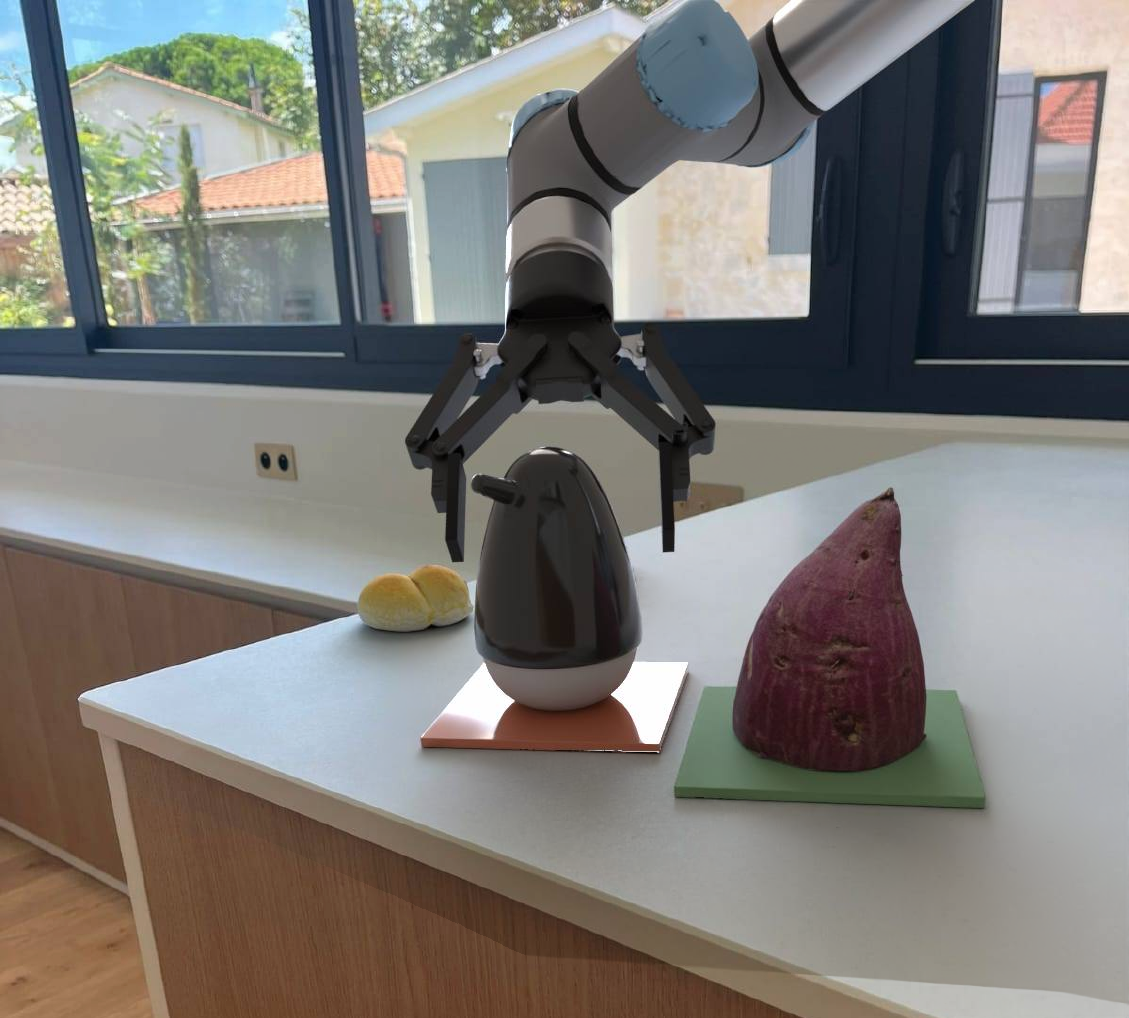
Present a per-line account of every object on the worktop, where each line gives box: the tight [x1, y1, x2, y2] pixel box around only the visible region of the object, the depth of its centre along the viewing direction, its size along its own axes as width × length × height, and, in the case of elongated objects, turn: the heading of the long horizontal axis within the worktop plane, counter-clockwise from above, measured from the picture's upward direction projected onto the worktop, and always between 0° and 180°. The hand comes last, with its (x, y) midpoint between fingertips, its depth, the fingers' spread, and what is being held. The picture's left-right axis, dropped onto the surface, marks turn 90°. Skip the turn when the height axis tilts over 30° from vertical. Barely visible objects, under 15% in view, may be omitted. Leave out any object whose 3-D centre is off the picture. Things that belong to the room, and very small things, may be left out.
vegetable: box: [732, 487, 927, 772], centre depth 61 cm, size 10×10×15 cm
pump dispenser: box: [470, 446, 643, 711], centre depth 68 cm, size 10×10×15 cm
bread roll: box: [356, 564, 475, 633], centre depth 91 cm, size 8×9×4 cm
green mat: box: [673, 685, 986, 809], centre depth 64 cm, size 15×15×1 cm
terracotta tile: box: [419, 661, 690, 752], centre depth 71 cm, size 14×14×1 cm
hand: (560, 546), depth 73 cm, fingers open, 13 cm apart
